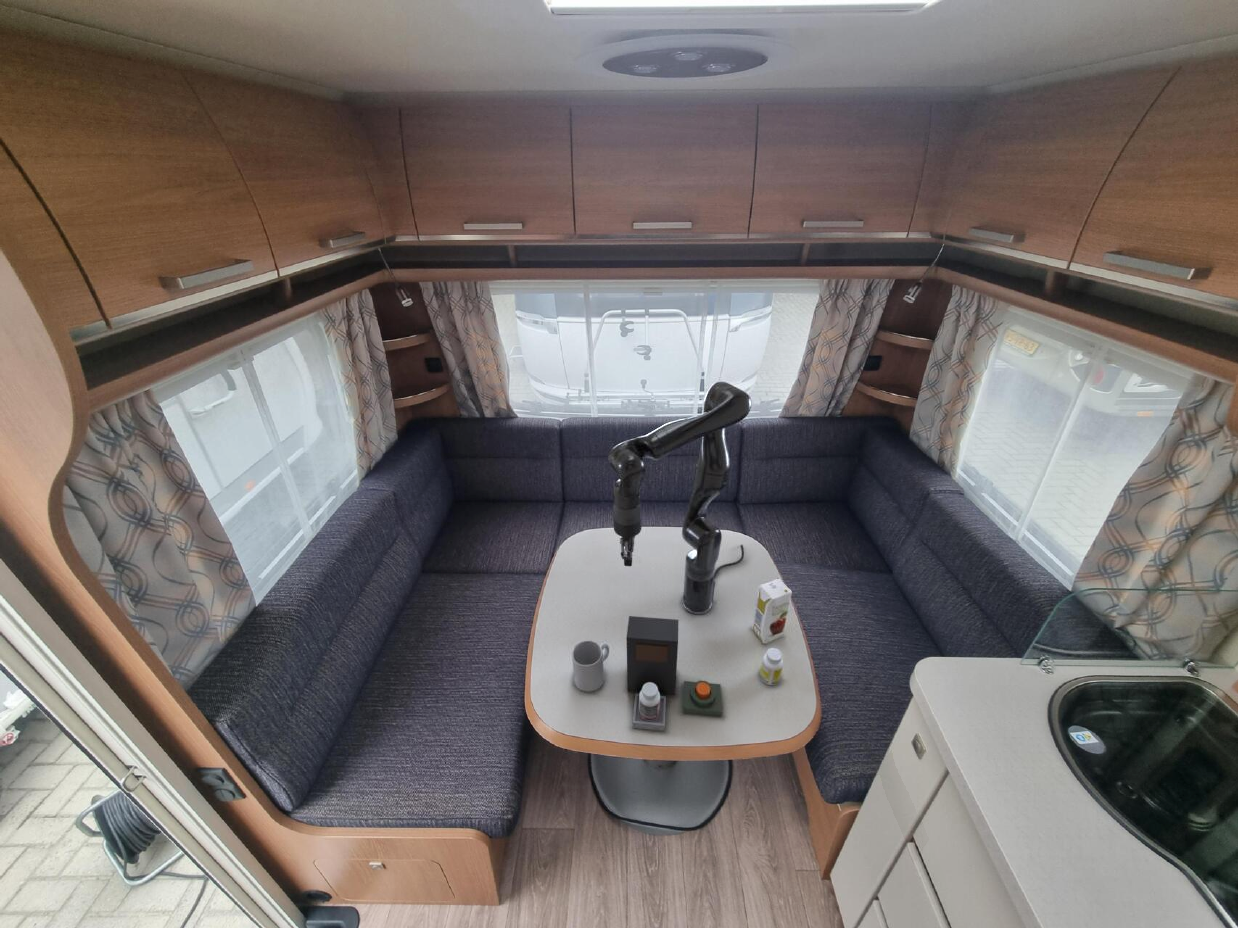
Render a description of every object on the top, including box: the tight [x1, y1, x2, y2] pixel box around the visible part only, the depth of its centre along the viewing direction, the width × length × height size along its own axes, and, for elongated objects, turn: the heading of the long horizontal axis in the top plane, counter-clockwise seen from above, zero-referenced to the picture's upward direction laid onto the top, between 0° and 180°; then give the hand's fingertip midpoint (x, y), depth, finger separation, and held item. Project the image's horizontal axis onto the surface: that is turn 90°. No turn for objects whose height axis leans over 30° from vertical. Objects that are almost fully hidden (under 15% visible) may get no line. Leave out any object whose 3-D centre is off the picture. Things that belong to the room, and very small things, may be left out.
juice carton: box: [751, 577, 793, 645], centre depth 145 cm, size 8×9×19 cm
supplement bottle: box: [759, 647, 784, 686], centre depth 135 cm, size 5×5×10 cm
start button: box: [696, 682, 710, 699], centre depth 129 cm, size 4×4×2 cm
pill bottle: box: [639, 682, 660, 721], centre depth 126 cm, size 5×5×10 cm
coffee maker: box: [625, 615, 680, 732], centre depth 127 cm, size 17×13×22 cm
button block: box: [682, 680, 723, 717], centre depth 130 cm, size 8×10×4 cm
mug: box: [571, 640, 610, 693], centre depth 136 cm, size 12×8×11 cm
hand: (628, 564), depth 139 cm, fingers closed
